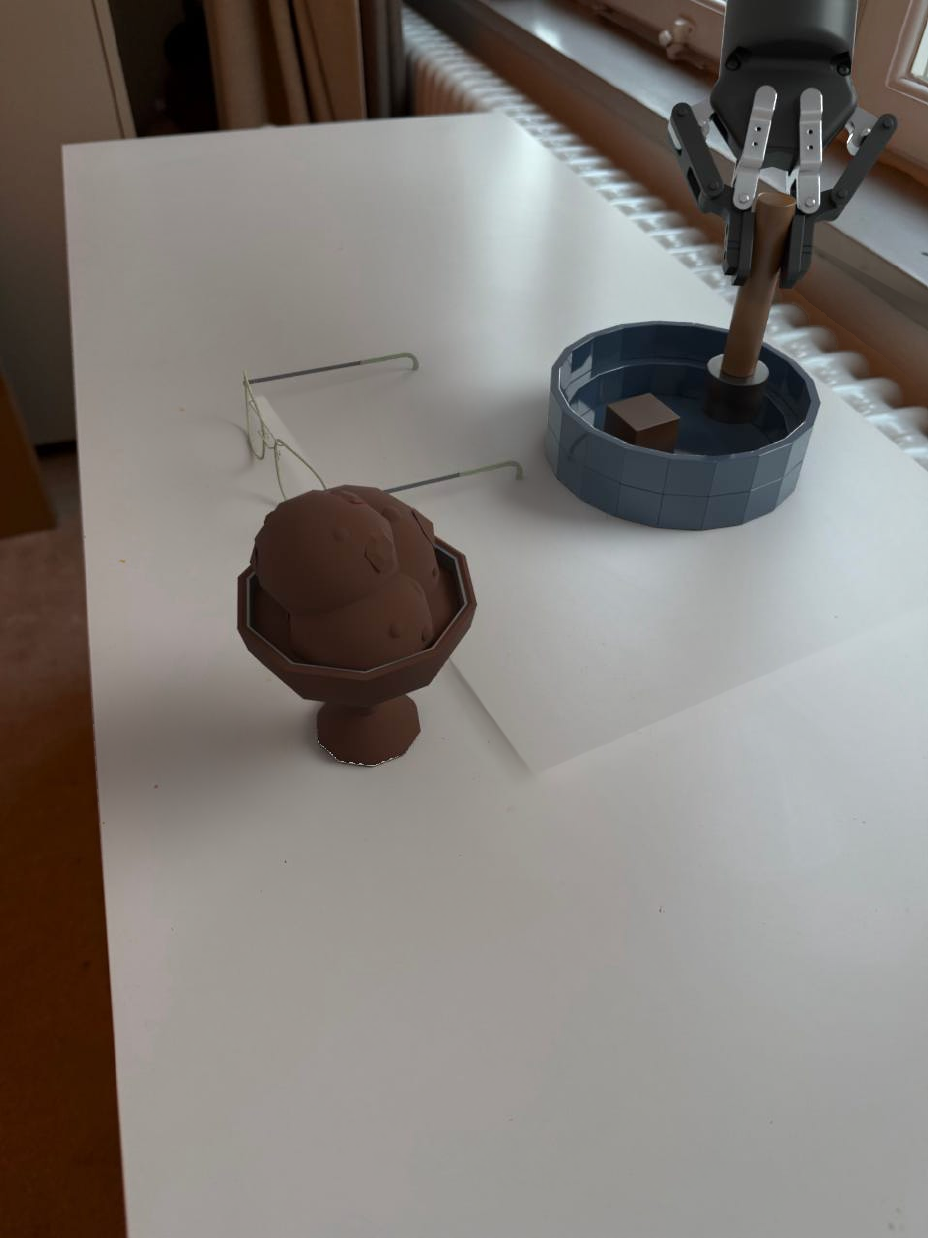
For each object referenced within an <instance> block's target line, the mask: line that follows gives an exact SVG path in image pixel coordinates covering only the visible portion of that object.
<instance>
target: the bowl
mask: <svg viewBox="0 0 928 1238" xmlns="http://www.w3.org/2000/svg"><path fill="white" fill-rule="evenodd" d="M728 332H729V328H725V327H719V326H715V325H709V324H705V323H699V322H693V321H674V320H647V321H636V322H627V323H619V324H616V325H613V326H609V327H605V328H603V329H602V328H601V329H600V330H599V329H598V330H596V331H592V332H589V333H587V334H586V335H584V336H583V337H581V338H579V339H577V340H576V341H574V342H573V343H571V344H569V345H568V346H566V347H565V348H564V349H563V350H562V351H561V353H560V354H559V355H558V357H557V359H556V360H555V361H554V362H553V364H552V366H551V368H550V378H549V379H550V381H549V393H548V405H547V420H546V432H545V433H546V434H545V435H546V436H545V451H544V454H545V457H546V459H547V461H548V463H549V465H550V467H551V469H552V472H553V473H554V476H555V477H556V478H557V479H558V480H559V481H560V482H561V483H562V484H563V485H564V486H566V487H567V488H568V489H569V490H570V491H571V492H572V493H573V494H574V495H575V496H577V498H579V499H580V500H581V501H583V502H585V503H587V504H589V505H591V506H593V507H594V508H596V509H599V510H601V511H603V512H605V513H607V514H609V515H610V516H612V517H615V518H619V519H623V520H627V521H630V522H631V521H632V522H634V523H639V524H642V525H647V526H651V527H655V528H659V529H660V528H661V529H675V530H676V529H677V530H693V531H705V530H711V529H717V528H725V527H731V526H739V525H744V524H746V523H749V522H751V521H753V520H756V519H758V518H760V517H762V516H765V515H768V514H770V513H772V512H774V511H775V510H776V509H777V508H778V507H779V506H780V505H781V504H782V503H784V502H785V501H786V500H787V499H788V498H789V497H790V496H791V495H792V494H793V493H794V492H795V491H796V488H797V484H798V481H799V478H800V475H801V472H802V468H803V465H804V462H805V458H806V454H807V451H808V448H809V445H810V441H811V438H812V435H813V431H814V427H815V424H816V421H817V416H818V413H819V411H820V407H821V404H822V403H821V399H820V396H819V393H818V389H817V387H816V383H815V380H814V379H813V378H812V377H811V375H809V374H808V372H807V371H806V370H805V369H804V367H802V366H801V365H800V364H799V362H798V361H796V360H795V358H792V357H791V356H789V355H788V354H786V353H784V352H783V351H781V350H780V349H778V348H776V347H775V346H773V345H772V344H770V343H769V342H766V341H764V340H763V341H762V345H761V349H760V354H759V358H758V360H759V361H761V362H762V363H763V364H765V365H766V367H767V368H768V370H769V377H768V381H767V384H766V388H765V392H764V396H763V400H762V404H761V408H760V412H759V415H758V417H757V418H756V419H755V420H753V421H751V422H749V423H745V424H725V423H721V422H717V421H715V420H712V419H710V418H709V417H707V416H706V415H705V414H703V412H702V411H701V409H700V407H699V402H700V397H701V393H702V388H703V383H704V378H705V373H706V368H707V364H708V362H709V361H710V360H711V359H712V358H714V357H716V356H719V355H723V354H724V350H725V346H726V341H727V336H728ZM646 393H651V394H652V395H653V396H654V397H656V398H657V399H658V400H659V401H661V402H662V403H663V404H664V405H665V406H667V407H668V408H669V409H670V410H672V411H673V412H674V413H675V414H677V415H678V416H679V417H680V422H679V428H678V433H677V439H676V444H675V449H674V454H670V453H665V452H661V451H657V450H653V449H648V448H644V447H640V446H636V445H632V444H628V443H626V442H624V441H621V440H619V439H617V438H615V437H613V436H610V435H608V434H606V433H604V423H605V415H606V407H607V405H609V404H612V403H616V402H619V401H623V400H626V399H629V398H633V397H636V396H640V395H643V394H646Z"/></svg>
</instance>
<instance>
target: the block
mask: <svg viewBox="0 0 928 1238" xmlns="http://www.w3.org/2000/svg"><path fill="white" fill-rule="evenodd" d="M679 422H680V417H679V416H678V415H677V414H675V413H674V412H673V411H672V410H670V409H669V408H668V407H667V406H665V405H664V404H663V403H662V402H661V401H659V400H658V399H657V398H656V397H654V396H653V395H652V394H651V393H646V394H643V395H640V396H636V397H633V398H629V399H626V400H623V401H619V402H616V403H612V404H609V405H607V407H606V415H605V423H604V433H606V434H608V435H610V436H613V437H615V438H617V439H619V440H621V441H624V442H626V443H628V444H632V445H636V446H640V447H644V448H648V449H653V450H657V451H661V452H665V453H670V454H674V449H675V444H676V439H677V433H678V428H679Z"/></svg>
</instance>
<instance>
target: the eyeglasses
mask: <svg viewBox="0 0 928 1238" xmlns="http://www.w3.org/2000/svg"><path fill="white" fill-rule="evenodd" d="M403 358H408V359H411V360H412V370H413V371H417V370H419V369H420V365H419V360H418V358H417V357H416V356H415V354H414V353H412V352H408V351H405V352H404V351H403V352H398V353H392V354H386V355H381V356H373V357H369V358H362V359H359V360H356V361H351V362H344V363H338V364H332V365H327V366H322V367H316V368H309V369H305V370H304V369H303V370H297V371H292V372H288V373H287V372H286V373H282V374H276V375H270V376H265V377H258V378H252V379H249V378H248V375H247V371H245V370H244V371H243V372H242V373H243V382H242V384H243V387H244V398H245V399H244V400H245V409H246V410H245V411H246V422H247V434H248V439H249V443H250V446H251V450H252V452H253V454H254V456H255V457H256V458H257V459H258V460H259V461H262V460H265V457H266V447H267V449H269V450H273V455H274V463H275V471H276V477H277V482H278V485H279V489H280V491H281V494H282V497H283V498H284V501H286V500H289V499H288V497H287V494H286V492H285V489H284V486H283V483H282V482H283V481H282V477H281V473H280V465H279V460H280V457H279V456H281V454H282V453H281V450H278V447H285V448H286V449H287V450H289V452H291V454H293V455H294V456H295V457H297V458H298V459H299V460H300V461H301V462H302V463H303V464H304V465H305V466H306V467H307V468H308V469H309V470H310V471H311V472H312V473H313V474H314V475H315V477H316V478H317V479H318V480H319V482H320V484H321V486H322V488H323V490H326V489H328V486H327V484H326V482H325V481H324V479H323V478H322V477H321V475H320V474H319V472H318V471H317V469H315V468H314V467H313V466H312V465H311V464H310V463H309V462H308V461H307V460H305V459H304V457H302V456H301V455H300V454H299V453H298V452H297V451H296V450H295V449H294V448H292V447H291V446H290V445H289V444H287V442H285V441H284V440H283V439H280V438H277V439H276V437H275V435H274V434H273V433H272V431H271V429H270V428H269V427H268V426H267V424H266V423H265V421H264V419H263V415H262V412H261V409H260V407H259V405H258V402H257V399H256V397H255V395H254V393H253V390H252V388H251V385H254V384H259V383H266V382H271V381H277V380H282V379H288V378H294V377H300V376H304V375H310V374H316V373H322V372H328V371H333V370H339V369H345V368H351V367H357V366H364V365H369V364H375V363H379V362H380V363H381V362H386V361H392V360H398V359H403ZM248 392H249V395H248ZM249 396H250V398H251V400H249ZM252 403H253V404H254V405H253V404H252ZM249 405H250V406H249ZM250 407H251V408H252V410H253V412H254V413H255V414H256V416H257V417H258V419H259V422H260V427H261V429H259V430H257V434H258V435H259V437H260V438H261V439H262V449H261V456H260V455H259V454H258V452H257V450H256V448H255V445H254V442H253V437H252V429H251V418H250ZM266 431H267V432H266ZM266 434H267V436H266ZM269 434H270V436H271V437H272V439H273V441H274V444H273V446H270V445H269V443H268V442H267V441H266V440H267V439H268V440H270V437H269ZM266 437H267V439H266ZM506 467H514V468H515V469H516V473H515V479H516V480H519V479H523V476H524V475H523V474H524V471H523V468H522V465H521V464H520V463H519V462H518V461H517V460H513V459H509V460H508V459H507V460H504V461H503V460H502V461H499V462H495V463H491V464H487V465H483V466H478V467H477V466H476V467H473V468H469V469H464V470H460V471H458V472H455V473H451V474H447V475H443V476H438V477H434V478H429V479H425V480H421V481H417V482H411V483H407V484H404V485H400V486H399V485H398V486H395V487H391V488H386V489H381V490H382V491H385V492H387V493H388V494H393V493H398V492H403V491H406V490H411V489H414V488H418V487H423V486H428V485H431V484H436V483H439V482H440V483H441V482H445V481H448V480H453V479H457V478H462V477H463V478H464V477H467V476H472V475H475V474H476V475H477V474H480V473H484V472H489V471H493V470H496V469H501V468H506Z"/></svg>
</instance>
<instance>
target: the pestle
mask: <svg viewBox="0 0 928 1238" xmlns="http://www.w3.org/2000/svg"><path fill="white" fill-rule="evenodd" d="M795 205H796V199H795V198H794V197H793V196H791V195H788V193H785V192H781V191H765V192H762V193H759V194H758V195H757V197H756V202H755V205H754V211H753V212H756V215H755V225H754V236H753V247H752V257H751V268H750V274H749V277H748V279H747V281H746V283H745V285H744V286H737V291H736V294H735V295H736V296H735V300H734V303H733V309H732V313H731V318H730V322H729V327H728V329H729V332H728V336H727V341H726V346H725V350H724V354H723V355H719V356H716V357H714V358H712V359H711V360H710V361H709V362H708V364H707V368H706V373H705V378H704V383H703V388H702V393H701V397H700V402H699V407H700V409H701V411H702V412H703V414H705V415H706V416H707V417H709V418H710V419H712V420H715V421H717V422H721V423H725V424H745V423H749V422H751V421H753V420H755V419H756V418H757V417H758V415H759V412H760V408H761V404H762V400H763V396H764V392H765V388H766V384H767V381H768V377H769V370H768V368H767V367H766V365H765V364H763V363H762V362H761V361H759V360H758V358H759V354H760V349H761V345H762V341H764V336H765V333H766V329H767V324H768V321H769V316H770V313H771V308H772V305H773V300H774V295H775V292H776V287H777V283H778V280H779V276H780V267H781V263H782V258H783V254H784V250H785V246H786V242H787V238H788V234H789V230H790V225H791V221H792V217H793V213H794V209H795Z"/></svg>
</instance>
